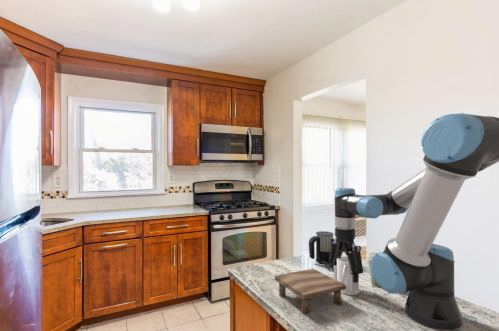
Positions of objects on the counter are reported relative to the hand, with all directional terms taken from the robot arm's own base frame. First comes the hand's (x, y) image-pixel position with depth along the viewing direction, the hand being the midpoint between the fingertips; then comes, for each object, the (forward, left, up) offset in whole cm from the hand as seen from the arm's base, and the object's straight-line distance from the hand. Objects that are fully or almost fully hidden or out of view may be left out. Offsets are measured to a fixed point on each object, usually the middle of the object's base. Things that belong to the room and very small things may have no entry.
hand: (345, 285), depth 107 cm
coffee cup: (-1, -17, -2) cm, 17 cm away
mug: (-1, 0, -2) cm, 2 cm away
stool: (+1, +17, -2) cm, 17 cm away
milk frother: (+27, -15, -2) cm, 31 cm away
